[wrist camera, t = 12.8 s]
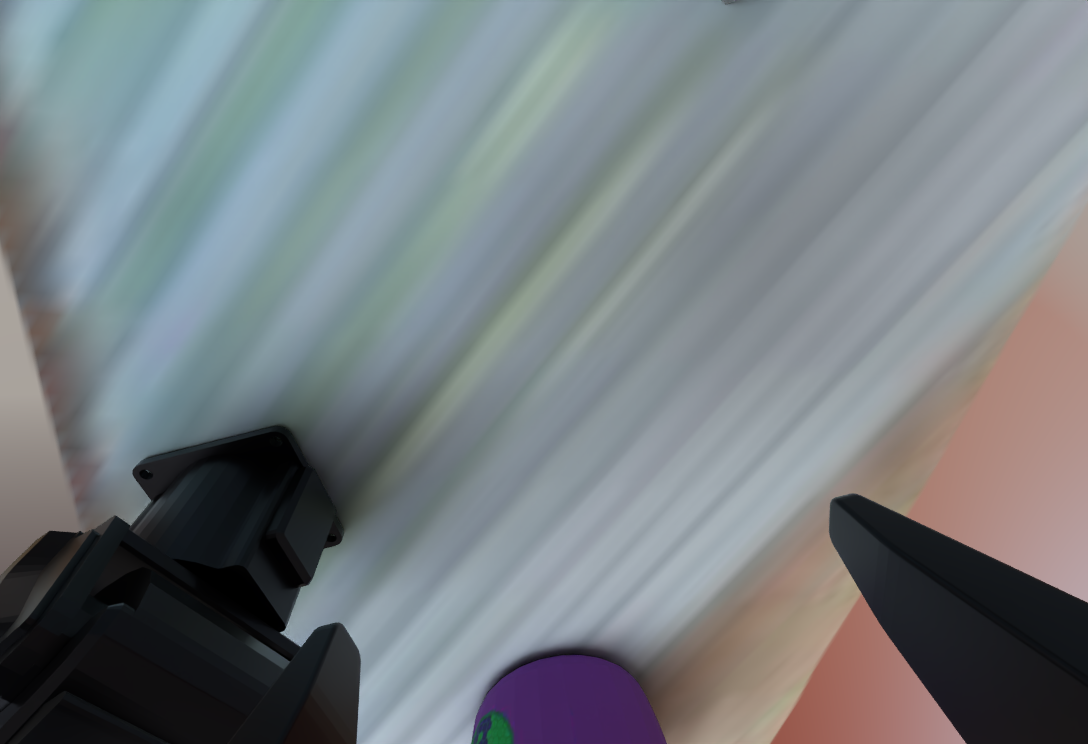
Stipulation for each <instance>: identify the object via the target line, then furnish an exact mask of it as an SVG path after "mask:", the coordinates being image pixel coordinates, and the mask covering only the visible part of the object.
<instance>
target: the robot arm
mask: <svg viewBox="0 0 1088 744" xmlns="http://www.w3.org/2000/svg"><path fill="white" fill-rule="evenodd" d="M275 436H277V437H279V438H281V439H282V441H277V440H275V439H274V438H273V437H275ZM146 470H149V471H150V472H152V474H151V473H148V472H147V471H146ZM133 476H134V478H135V479H136V481H137V482H138V483H139V485H140V486H141V487H142V489H143V490H144V491H145V493H146V494H147V495H148V497H149V498H150V499H151V502H150V504H149V505H148V506H147V507H146V508H145V510H144V511H143V512H142V513H141V514H140V516H139V517H138V518H137V519H136V520H135V522H134V523H133V524H132V525H131V526H130V525H129V524H127V523H126V522H125V521H123V520H122V519H120V518H119V517H117V516H116V515H115V516H113V517H111V518H110V519H109V520H107V521H106V522H104V523H103V524H101V525H100V526H98V527H97V528H95V529H94V530H93V529H91V530H89V531H88V532H86V533H83V532H81V531H79V532H77V533H71V532H59V531H49V532H47V533H46V534H44V535H43V536H42V537H40V538H39V539H37V540H36V541H35V542H34V543H33V544H32V545H31V546H30V547H29V548H28V549H27V550H25V552H24V553H22V555H20V556H19V557H18V558H17V559H16V560H15V561H14V562H13V563H12V564H11V565H10V566H9V567H8V568H7V569H6V570H5V571H4V572H3V573H2V574H1V575H0V744H356V741H357V723H358V704H359V686H360V667H361V659H360V653H359V650H358V648H357V646H356V645H355V643H354V641H353V640H352V638H351V637H350V635H349V633H348V632H347V630H346V628H345V627H344V626H343V624H341V623H339V622H338V623H332V624H328V625H324V626H321V627H318V628H317V629H316V630H314V632H313V633H312V634H311V635H310V637H309V638H308V639H307V640H306V642H305V643H304V644H303V646H302V647H300V646H299V645H297V644H296V643H294V642H293V641H291V640H290V639H288V638H287V637H285V636H284V635H282V634H281V633H280V632H282V631H284V630H285V628H286V626H287V623H288V621H289V618H290V615H291V613H292V610H293V607H294V605H295V602H296V599H297V597H298V594H299V591H300V588H301V587H303V586H307V585H309V584H310V582H311V580H312V579H313V576H314V574H315V571H316V568H317V565H318V562H319V559H320V557H321V554H322V551H323V549H325V548H329V547H332V546H336V545H338V544H340V543H341V541H342V538H343V535H344V530H343V528H342V526H341V524H340V522H339V520H338V518H337V517H336V515H335V514H336V509H335V507H334V505H333V503H332V501H331V499H330V497H329V496H328V494H327V492H326V490H325V488H324V486H323V485H322V483H321V481H320V479H319V477H318V475H317V474H316V472H315V470H314V469H313V468H311V467H310V466H309V465H308V464H307V462H306V460H305V458H304V456H303V454H302V453H301V451H300V449H299V447H298V445H297V443H296V442H295V440H294V438H293V436H292V434H291V433H290V431H289V430H288V429H286V428H284V427H281V426H274V427H270V428H266V429H262V430H258V431H254V432H250V433H246V434H242V435H238V436H234V437H230V438H226V439H222V440H219V441H215V442H211V443H207V444H203V445H199V446H195V447H191V448H187V449H183V450H179V451H175V452H171V453H167V454H163V455H159V456H155V457H151V458H148V459H144V460H142V461H140V462H139V463H138V464H137V465H136V467H135V468H134V469H133ZM329 534H333V535H335V536H331V535H329ZM829 534H830V538H831V541H832V543H833V545H834V547H835V549H836V550H837V552H838V554H839V556H840V557H841V559H842V561H843V562H844V564H845V566H846V567H847V569H848V571H849V573H850V574H851V576H852V578H853V579H854V581H855V583H856V585H857V586H858V588H859V590H860V591H861V593H862V595H863V597H864V598H865V600H866V602H867V603H868V605H869V607H870V608H871V610H872V612H873V613H874V615H875V617H876V618H877V620H878V622H879V623H880V625H881V626H882V628H883V629H884V630H885V632H886V633H887V635H888V636H889V638H890V639H891V640H892V642H893V643H894V645H895V646H896V647H897V649H898V650H899V652H900V653H901V654H902V656H903V657H904V658H905V660H906V661H907V662H908V664H909V665H910V667H911V668H912V669H913V671H914V672H915V674H916V675H917V676H918V678H919V679H920V680H921V682H922V683H923V684H924V686H925V687H926V689H927V690H928V691H929V693H930V694H931V695H932V697H933V698H934V700H935V701H936V702H937V704H938V705H939V707H940V708H941V709H942V711H943V712H944V713H945V715H946V716H947V718H948V719H949V720H950V721H951V723H952V724H953V726H954V727H955V729H956V730H957V731H958V733H959V734H960V735H961V737H962V738H963V739H964V741H965V742H966V743H967V744H1088V603H1087V602H1085V601H1083V600H1081V599H1079V598H1077V597H1074V596H1072V595H1070V594H1068V593H1066V592H1064V591H1062V590H1059V589H1058V588H1055V587H1053V586H1051V585H1049V584H1047V583H1045V582H1043V581H1041V580H1039V579H1036V578H1034V577H1032V576H1030V575H1028V574H1026V573H1024V572H1022V571H1019V570H1017V569H1015V568H1013V567H1011V566H1009V565H1007V564H1005V563H1003V562H1000V561H998V560H996V559H994V558H992V557H990V556H988V555H986V554H984V553H981V552H979V551H977V550H975V549H973V548H971V547H969V546H967V545H964V544H962V543H960V542H958V541H956V540H954V539H952V538H950V537H947V536H945V535H943V534H941V533H939V532H937V531H935V530H933V529H931V528H928V527H926V526H924V525H922V524H920V523H918V522H916V521H914V520H911V519H909V518H907V517H905V516H903V515H901V514H899V513H897V512H895V511H893V510H890V509H888V508H886V507H884V506H882V505H880V504H878V503H876V502H874V501H871V500H869V499H867V498H865V497H863V496H861V495H858V494H847V495H843V496H839V497H835V498H833V499H832V501H831V502H830V517H829Z"/></svg>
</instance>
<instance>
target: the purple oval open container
mask: <svg viewBox="0 0 1088 744" xmlns="http://www.w3.org/2000/svg"><path fill="white" fill-rule="evenodd" d="M471 744H667V743H666V740H665V737H664V735H663V732H662V730H661V727H660V725H659V723H658V720H657V718H656V716H655V714H654V711H653V709H652V707H651V705H650V703H649V701H648V699H647V697H646V695H645V693H644V692H643V690H642V688H641V687H640V685H639V683H638V682H637V681H636V680H635V679H634V677H633V676H632V675H631V674H629V673H628V672H627V671H626V670H624V669H623V668H622V667H620V666H619V665H616V664H614V663H611V662H609V661H606V660H604V659H601V658H598V657H591V656H585V655H559V656H554V657H549V658H544V659H539V660H536V661H534V662H531V663H529V664H526V665H523V666H521V667H519V668H518V669H516V670H514V671H513V672H511V673H510V674H508V675H507V676H505V677H504V678H502V679H501V680H500V681H499V682H498V683H497V684H496V685H495V686H494V687H493V688H492V689H491V690H490V691H489V692H488V693H487V695H486V697H485V699H484V701H483V703H482V705H481V706H480V709H479V711H478V713H477V715H476V719H475V725H474V730H473V736H472V743H471Z"/></svg>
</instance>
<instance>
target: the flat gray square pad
mask: <svg viewBox="0 0 1088 744" xmlns="http://www.w3.org/2000/svg"><path fill="white" fill-rule="evenodd" d="M722 1H723V2H724V3H725V4H729V3H731V2H734V1H736V0H722Z"/></svg>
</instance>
